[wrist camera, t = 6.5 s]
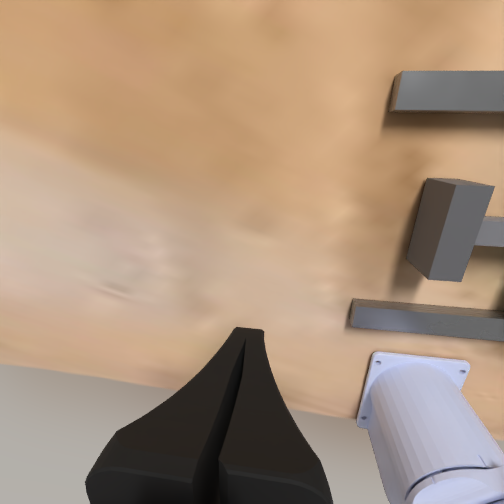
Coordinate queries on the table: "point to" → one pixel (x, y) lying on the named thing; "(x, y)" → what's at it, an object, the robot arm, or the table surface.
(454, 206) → the sliding jaw
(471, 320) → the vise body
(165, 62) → the table surface
